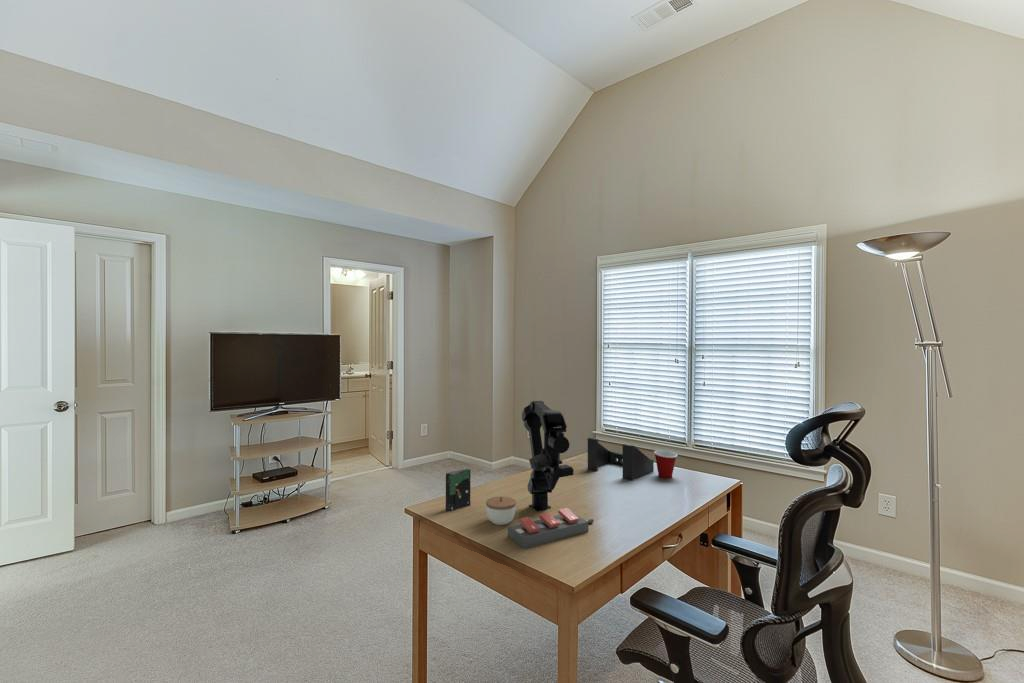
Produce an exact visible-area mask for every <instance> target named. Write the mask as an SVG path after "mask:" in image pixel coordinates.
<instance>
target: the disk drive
mask: <svg viewBox="0 0 1024 683" xmlns="http://www.w3.org/2000/svg"><path fill="white" fill-rule="evenodd" d="M466 506H467V507H470V506H471V469H469V468H463V469H458V470H454V471H449V472H446V473H445V511H446V510H447V511H446V512H448V511H450V512H453V511H456V509H457V510H460V509H462V508H466ZM459 508H460V509H459ZM452 510H453V511H452Z"/></svg>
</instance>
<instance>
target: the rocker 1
mask: <svg viewBox="0 0 1024 683" xmlns="http://www.w3.org/2000/svg"><path fill="white" fill-rule="evenodd" d="M533 521H534V520H533V519H532V518H531V517H530V516H528V515H527V516H524V517H521V518H519V519H518V522H519V524H521V525H522V526H523V527H524V528H525V529H526V530H527V531H528V532H529V533H534V532H538V531H539V530H540V528H539V527H538V526H537V525H536V524H535V523H534V522H533Z"/></svg>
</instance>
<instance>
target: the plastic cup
mask: <svg viewBox="0 0 1024 683" xmlns="http://www.w3.org/2000/svg"><path fill="white" fill-rule="evenodd" d="M653 453H654V457H655V462H656V469H657V473H658V477H660V478H661V479H672V478H673V473H674V469H675V463H676V459H677V458H678V456H679V455H678V454H677V453H675V452H674V451H669V450H664V449H663V450H661V449H660V450H659V449H658V450H654V451H653Z"/></svg>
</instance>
